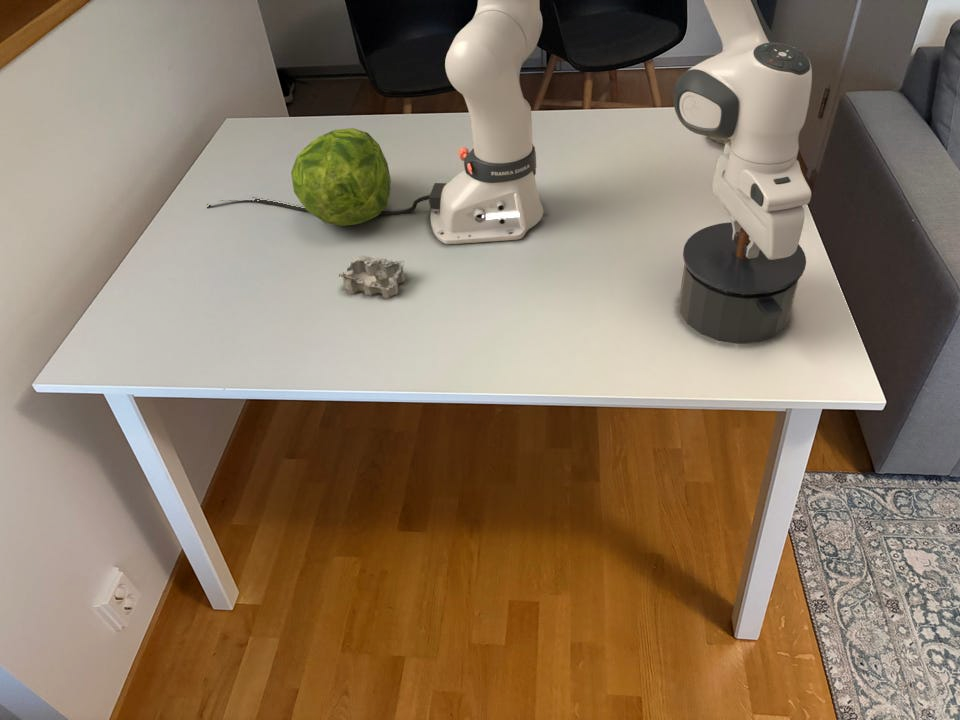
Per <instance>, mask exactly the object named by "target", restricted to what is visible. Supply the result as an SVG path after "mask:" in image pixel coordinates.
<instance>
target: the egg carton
mask: <svg viewBox="0 0 960 720" xmlns="http://www.w3.org/2000/svg"><path fill="white" fill-rule="evenodd" d="M404 265H405V260H395V261H393V260H392V259H390V260H388V259H387V258H378V257H375V258H373V257H370V256H367V255H361V256H358V257H356V258H354V260H353V261H351V262H350V265H349V266H347V267H346V273H345V271H343V272H342V273H339V274H338V277H339V278H340V277H341V278H342V280H343V286H344V289H345V290H347V292H348V294H351V295H354V294H355V293H357V292H364V294H365V296H373V295H376V294H381V295H382V298H384V299H389V298H390V297H392V296H395V295H397V294H398V293H399V286H398V285H400V284H402V283H404V282H405V280H406V278H405V273H404V272H405V271H404Z"/></svg>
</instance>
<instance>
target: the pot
mask: <svg viewBox="0 0 960 720" xmlns="http://www.w3.org/2000/svg"><path fill="white" fill-rule="evenodd" d="M682 269H683V271H682V277H681V285H680V286H681V287H680V292H679V313H680V315H681V317H682V318H683V320H684V321H685V323H686V324H687V326H689V327H691V328H692V329H693V330H695V331H696V332H698V334H700V335H702V336H706V337H708V338H710V339H712V340H715V341H718V342H724V343H730V344H737V345H739V344H741V345H742V344H753V343H754V344H755V343H760V342H762V341H765V340H769V339H771V338H774V337H775V336H777V335H778V334H779V333H780V332H781V331H783V330H785V328H786V326H787V324H788V321H789V318H790V314H791V311H792V308H793V304H794V300H795V296H796V292H797V288H798V285H799V281H800V278H799V279H798V280H797V281H796V282H795V283H793V284H792V285H790V286H788V287H786V288H784V289H781V290H779V291H775V292H772V293H769V294H766V295H755V296H743V295H736V294H728V293H725V292H722V291H719V290H716V289H714V288H711V287H709V286H708V285H706V284H705V283H703V282H702V281H701V280H699V279H698V278H696V277H695V276H694V275H693V274H692V273H691V272H690V271H689V270H688V268H687V267H686V265H685V262H684V261H683V268H682Z"/></svg>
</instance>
